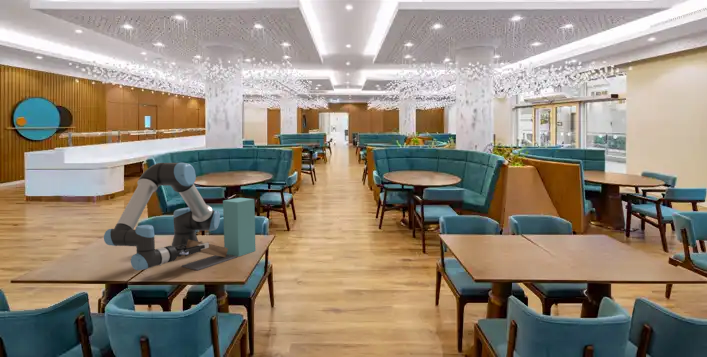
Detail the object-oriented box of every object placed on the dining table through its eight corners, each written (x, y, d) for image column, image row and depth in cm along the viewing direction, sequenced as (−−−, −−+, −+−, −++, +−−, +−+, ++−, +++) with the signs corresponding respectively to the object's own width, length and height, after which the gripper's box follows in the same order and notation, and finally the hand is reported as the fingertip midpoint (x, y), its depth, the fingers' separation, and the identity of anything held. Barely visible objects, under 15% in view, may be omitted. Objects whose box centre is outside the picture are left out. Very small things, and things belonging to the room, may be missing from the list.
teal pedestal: (224, 253, 247) (222, 200, 244) (241, 248, 258) (240, 197, 255) (238, 256, 241) (237, 202, 238) (255, 251, 252) (254, 199, 249)
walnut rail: (185, 249, 220) (188, 239, 221) (220, 256, 240) (222, 247, 241) (190, 250, 218) (193, 240, 219) (225, 257, 237) (228, 248, 239)
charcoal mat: (181, 266, 223) (181, 265, 223) (221, 254, 245) (221, 253, 245) (197, 270, 217) (197, 269, 217) (236, 257, 239) (236, 256, 239)
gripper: (154, 260, 212) (194, 249, 232) (177, 265, 204) (216, 253, 223) (153, 244, 212) (193, 235, 231) (176, 249, 203) (216, 239, 223)
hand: (205, 244), depth 227 cm, fingers closed on walnut rail, 4 cm apart
